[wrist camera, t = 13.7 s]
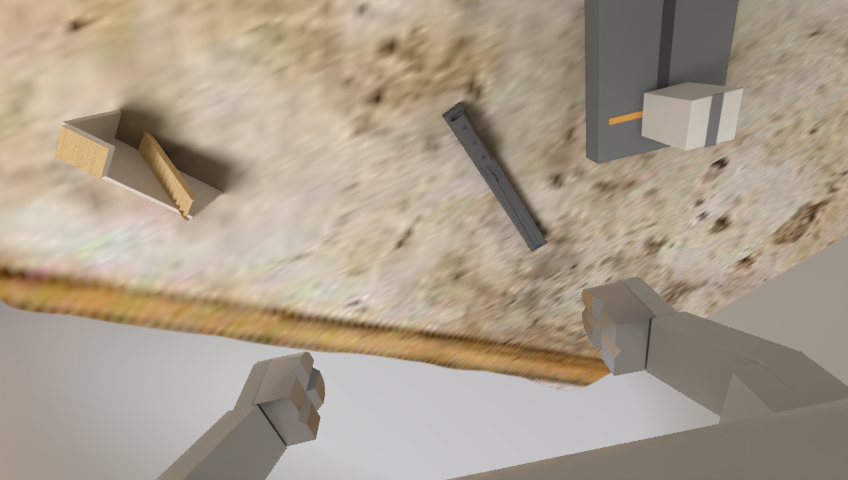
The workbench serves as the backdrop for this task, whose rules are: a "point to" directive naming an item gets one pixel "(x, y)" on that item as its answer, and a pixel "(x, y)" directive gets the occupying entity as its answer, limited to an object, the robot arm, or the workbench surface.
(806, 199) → the workbench surface
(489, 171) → the dark grey bar
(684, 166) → the workbench surface
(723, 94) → the fader cap
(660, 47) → the slider console
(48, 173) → the workbench surface
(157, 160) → the model
